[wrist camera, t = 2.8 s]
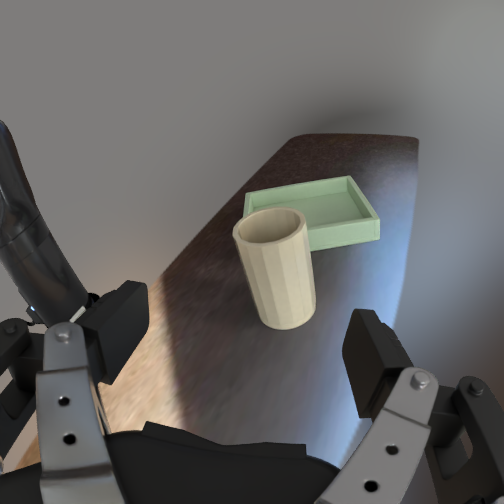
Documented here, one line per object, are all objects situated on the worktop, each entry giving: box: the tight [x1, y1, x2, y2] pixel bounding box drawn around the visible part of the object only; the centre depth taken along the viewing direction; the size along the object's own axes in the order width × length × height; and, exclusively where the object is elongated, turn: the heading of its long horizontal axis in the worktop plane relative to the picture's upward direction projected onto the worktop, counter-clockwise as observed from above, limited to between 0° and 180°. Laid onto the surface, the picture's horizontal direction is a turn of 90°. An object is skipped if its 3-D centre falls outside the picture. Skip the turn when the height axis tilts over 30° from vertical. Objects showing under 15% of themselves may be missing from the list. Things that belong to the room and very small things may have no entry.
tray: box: [243, 176, 380, 251], centre depth 41 cm, size 18×15×3 cm
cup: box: [232, 206, 316, 330], centre depth 27 cm, size 6×6×10 cm
